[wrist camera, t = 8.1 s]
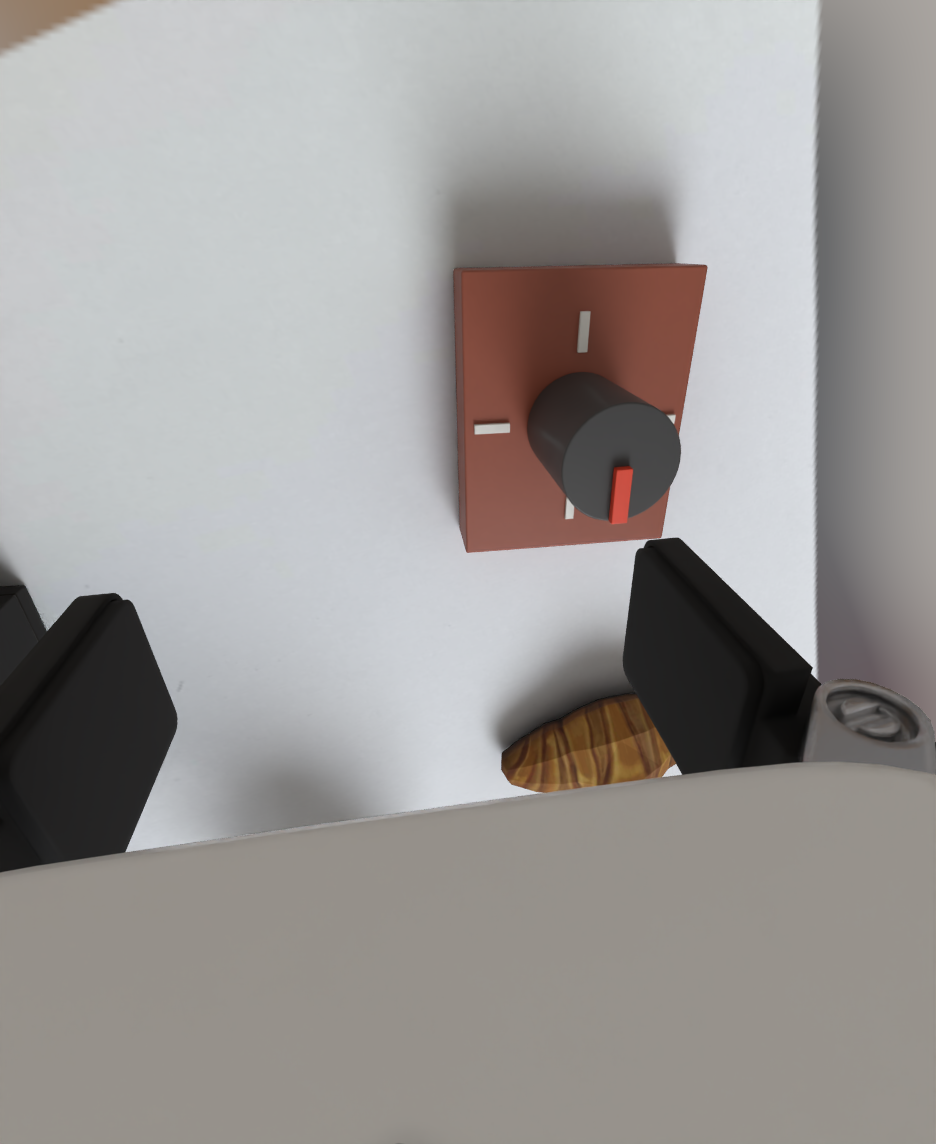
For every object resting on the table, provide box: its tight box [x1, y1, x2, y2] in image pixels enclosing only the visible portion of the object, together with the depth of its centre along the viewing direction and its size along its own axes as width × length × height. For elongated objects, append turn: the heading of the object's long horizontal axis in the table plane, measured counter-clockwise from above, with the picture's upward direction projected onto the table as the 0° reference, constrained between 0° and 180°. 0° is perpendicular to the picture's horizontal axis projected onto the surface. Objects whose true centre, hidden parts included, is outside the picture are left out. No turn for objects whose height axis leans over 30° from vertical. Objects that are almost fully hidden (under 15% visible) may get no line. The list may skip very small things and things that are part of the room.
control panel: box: [453, 263, 707, 553], centre depth 24 cm, size 11×9×3 cm
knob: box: [527, 372, 681, 524], centre depth 20 cm, size 4×4×5 cm
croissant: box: [501, 693, 676, 793], centre depth 33 cm, size 14×7×5 cm, turn 107°
